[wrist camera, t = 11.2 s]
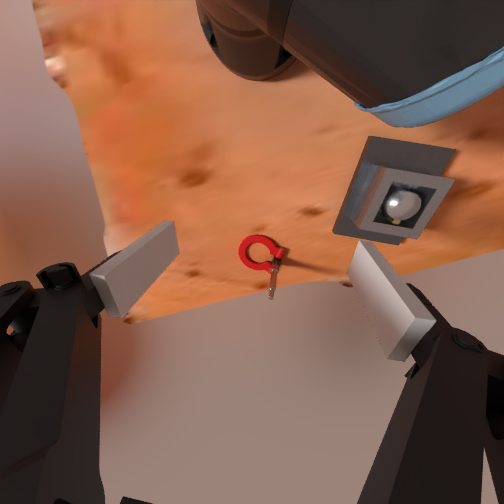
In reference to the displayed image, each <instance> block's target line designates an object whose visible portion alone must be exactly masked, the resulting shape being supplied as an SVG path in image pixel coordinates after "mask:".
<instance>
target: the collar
mask: <svg viewBox="0 0 504 504" xmlns="http://www.w3.org/2000/svg"><path fill="white" fill-rule="evenodd" d="M455 180H456V179H452V178H447V177H443V176H439V175H434V174H430V173H424V172H418V171H412V170H406V169H400V168H394V167H388V166H382V165H376V164H372V166H371V168H370V170H369V173H368V175H367V178H366V180H365V182H364V185H363V187H362V190H361V192H360V194H359V197H358V199H357V201H356V204H355V206H354V209H353V211H352V213H351V216H350V219H351V220H352V221H353V223H354V224H355V225H356V226H357V227H358V228H359V229H362V230H367V231H373V232H378V233H384V234H389V235H395V236H400V237H406V238H411V239H418V237H419V236H420V234H421V233H422V231H423V230H424V228H425V227H426V225H427V223H428V222H429V220H430V219H431V217H432V216H433V214H434V213H435V211H436V209H437V208H438V206H439V205H440V203H441V202H442V200H443V199H444V197H445V195H446V194H447V192H448V191H449V189H450V188H451V186H452V185H453V183H454V182H455ZM392 182H399V183H405V184H411V185H414V186H413V188H412V190H411V192H412V193H415V194H417V195H418V196H419V197H420V199H421V206H420V209H419V210H418V212H417V213H416V214H415V215H413V216H412V217H410V218H408V219H406V220H401V221H400V223H399V224H394V223H391V222H390V221H389V220H387V219H386V218H385V217H383V216H382V215H378V214H377V212H378V210H379V208H380V206H381V204H382V202H383V200H384V198H385V196H386V194H387V192H388V190H389V188H390V186H391V184H392Z"/></svg>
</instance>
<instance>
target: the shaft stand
mask: <svg viewBox="0 0 504 504" xmlns="http://www.w3.org/2000/svg"><path fill="white" fill-rule="evenodd" d="M455 150H456V149H450V148H444V147H437V146H431V145H425V144H419V143H412V142H406V141H400V140H394V139H387V138H381V137H375V136H368V139H367V141H366V144H365V147H364V149H363V152H362V154H361V157H360V160H359V162H358V165H357V167H356V170H355V173H354V175H353V178H352V180H351V183H350V186H349V188H348V191H347V194H346V196H345V199H344V201H343V204H342V207H341V209H340V212H339V214H338V217H337V220H336V222H335V225H334V227H333V230H332V231H333V233H334V234H339V235H344V236H350V237H355V238H361V239H366V240H371V241H377V242H382V243H388V244H393V245H399V244H400V242H401V241H402V239H403V237H400V236H395V235H389V234H384V233H378V232H373V231H367V230H362V229H359V228H358V227H357V226H356V225H355V224H354V223H353V221H352V220H351V219H350V216H351V213H352V211H353V209H354V206H355V204H356V201H357V199H358V197H359V194H360V192H361V190H362V187H363V185H364V182H365V180H366V178H367V175H368V173H369V170H370V168H371V166H372V164H376V165H382V166H388V167H394V168H400V169H406V170H412V171H418V172H424V173H430V174H434V175H439V176H440V175H441V174H442V172H443V170H444V169H445V167H446V165H447V164H448V162H449V160H450V159H451V157H452V155H453V154H454V152H455ZM413 186H414V185H411V184H405V183H399V182H392V184H391V186H390V188H389V190H388V192H387V194H386V196H385V198H384V200H383V202H382V204H381V206H380V208H379V210H378V212H377V214H378V215H382V216H383V217H385V218H386V219H387V220H389V221H390V222H391V223H394V224H399V223H400V221H401V220H406V219H408V218H410V217H412V216H413V215H415V214H416V213H417V212H418V210H419V209H420V206H421V199H420V197H419V196H418V195H417V194H415V193H412V192H411V190H412V188H413Z"/></svg>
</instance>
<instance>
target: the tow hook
mask: <svg viewBox="0 0 504 504" xmlns="http://www.w3.org/2000/svg"><path fill="white" fill-rule="evenodd" d="M255 242H258V243H262V244H264V245H266V246H267V247H268V248H269V250H270V254H272V255H274V258H273V259H272V261H271V262H268V261H265V262H263V263H255V262H253V261H251V260H250V259H249V258H248V257H247V255H246V248H247V247H248V245H250V244H251V243H255ZM284 252H285V248H283V247H277V246H276V245H275V244H274V242H273V241H272V240H271V239H269V238H268V237H266V236H263V235H251V236H249V237H247V238H245V239H244V240H243V241H242V243H241V244H240V247H239V256H240V259H241V261H242V262H243V263H244V264H245V265H246V266H247V267H249V268H251V269H254V270H266V271H268V273H270V274H271V278H270V284H269V299H270V300H272V299H273V297H274V292H275V290H276V281H277V274H278V272H279V266H280V264H281V257H282V256H283V254H284Z"/></svg>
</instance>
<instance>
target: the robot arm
mask: <svg viewBox="0 0 504 504" xmlns="http://www.w3.org/2000/svg"><path fill="white" fill-rule="evenodd" d="M196 5H197V11H198V15H199V19H200V23H201V26H202V29H203V32H204V34H205V37H206V39H207V41H208V43H209V45H210V47H211V48H212V50H213V51H214V53H215V54H216V56H217V57H218V58H219V60H220V61H221V62H222V63H223V64H224V65H225V66H226V67H227V68H228V69H229V70H230V71H231V72H233V73H234V74H236V75H238V76H239V77H242V78H245V79H248V80H265V79H269V78H272V77H274V76H276V75H278V74H280V73H282V72H283V71H284V70H286V69H287V68H288V67H289V66H290V65H291V64H292V63H293V62H294V61H295V60H296V59H299V60H300V61H301V62H303V63H304V64H305V65H307V66H308V67H309V68H311V69H312V70H313V71H315V72H316V73H317V74H319V75H320V76H321V77H322V78H324V79H325V80H326V81H328V82H329V83H330V84H332V85H333V86H334V87H336V88H337V89H338V90H340V91H341V92H342V93H344V94H345V95H346V96H348V97H349V98H350V99H352V100H353V101H354V105H355V106H356V107H357V108H358V109H360V110H361V111H365V112H370V113H371V114H373V115H374V116H376V117H377V118H379V119H380V120H382V121H383V122H385V123H386V124H388V125H390V126H393V127H405V128H407V127H410V128H412V127H418V126H422V125H426V124H429V123H433V122H435V121H438V120H441V119H443V118H446V117H448V116H450V115H453V114H455V113H457V112H459V111H461V110H463V109H465V108H467V107H469V106H471V105H473V104H474V103H476V102H478V101H480V100H482V99H483V98H485V97H487V96H489V95H490V94H492V93H494V92H495V91H497V90H499V89H500V88H502V87H504V0H196ZM178 255H179V247H178V241H177V235H176V229H175V223H174V221H163V222H162V223H160V224H159V225H157V226H156V227H155V228H153V229H152V230H150V231H149V232H148V233H146V234H145V235H143V236H142V237H140V238H139V239H138V240H136V241H135V242H133V243H132V244H131V245H129V246H128V247H126V248H125V249H124V250H121V251H119V252H116V253H114V254H112V255H111V256H109V257H108V258H107V259H106V260H104V261H102V262H101V263H100V264H98V265H97V266H95V267H93V268H92V269H91V270H89V271H88V272H86V273H85V274H83V275H82V276H80V274H79V272H78V270H77V268H76V266H75V264H73V263H68V262H66V263H58V264H55V265H51V266H49V267H46V268H44V269H42V270H41V271H39V272H38V273H37V274H36V276H37V277H38V279H39V281H40V282H41V284H42V285H43V287H44V288H41V289H34V288H33V287H32V285H31V284H30V282H28V281H16V282H10V283H8V284H4V285H2V286H1V287H0V504H105V495H104V488H103V484H102V481H101V477H100V471H99V445H100V440H99V439H100V380H101V375H100V374H101V316H100V314H99V313H100V312H101V311H102V310H103V309H104V308H105V309H106V311H107V313H108V316H112V317H119V318H123V316H124V315H125V314H126V313H127V312H128V311H129V310H130V309H131V307H132V306H133V305H134V304H135V303H136V302H137V301H138V300H139V298H140V297H141V296H142V295H143V294H144V293H145V292H146V291H147V289H148V288H149V287H150V286H151V285H152V284H153V283H154V282H155V280H156V279H157V278H158V277H159V276H160V275H161V274H162V273H163V271H164V270H165V269H166V268H167V267H168V266H169V265H170V264H171V262H172V261H173V260H174V259H175V258H176V257H177V256H178ZM347 274H348V276H349V278H350V280H351V282H352V285H353V287H354V289H355V291H356V293H357V295H358V298H359V299H360V302H361V304H362V306H363V308H364V310H365V313H366V315H367V317H368V319H369V321H370V323H371V326H372V328H373V330H374V332H375V334H376V336H377V339H378V341H379V343H380V345H381V347H382V350H383V352H384V354H385V356H386V358H387V359H390V360H397V361H403V362H405V360H406V359H407V358H408V357H409V355H410V354H412V356H413V358H414V360H415V361H416V363H415V364H414V365H413V366H412V367H411V368H410V370H409V371H408V372H407V373H406V374H405V377H407V381H406V383H405V386H404V388H403V390H402V393H401V396H400V398H399V400H398V403H397V405H396V408H395V410H394V413H393V415H392V418H391V420H390V423H389V425H388V428H387V430H386V433H385V435H384V438H383V440H382V443H381V445H380V447H379V450H378V452H377V455H376V457H375V460H374V463H373V465H372V467H371V470H370V473H369V475H368V477H367V480H366V483H365V485H364V487H363V490H362V492H361V495H360V497H359V500H358V502H357V504H481V491H482V472H483V452H484V448H485V452H486V456H487V460H488V464H489V468H490V472H491V476H492V480H493V483H494V487H495V491H496V495H497V499H498V503H499V504H504V355H501V354H498V353H496V352H493V351H490V350H487V348H486V347H485V346H484V344H483V343H482V342H481V341H479V340H478V339H477V338H476V337H474V336H472V335H470V334H469V333H467V332H465V331H462V330H460V329H458V328H453V327H452V326H450V324H449V323H448V322H447V321H446V319H445V318H444V317H443V316H442V315H441V314H440V313H439V311H438V310H437V309H436V308H435V307H434V306H432V304H431V302H429V300H428V299H427V298H426V297H425V296H424V295H423V293H422V292H421V291H420V290H419V289H417V288H415V287H414V286H413V285H412V284H409V283H405V282H404V281H403V280H402V278H401V277H400V276H399V275H398V273H397V272H396V271H395V270H394V269H393V267H392V266H391V265H390V264H389V263H388V261H387V260H386V259H385V258H384V257H383V255H382V254H381V253H380V252H379V250H378V249H377V248H376V247H375V246H374V244H373V243H372V242H371V241H361V240H359V242H358V245H357V248H356V250H355V253H354V256H353V259H352V261H351V264H350V267H349V269H348V272H347ZM9 325H10V326H11V327H12V328H13V329H14V331H13V332H12V333H11V334H10V335H8V334H7V333H6V332H7V331H6V330H7V328H8V326H9ZM120 504H152V503H148V502H144V501H140V500H136V499H132V498H128V497H123V498H122V500H121V502H120Z"/></svg>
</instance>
